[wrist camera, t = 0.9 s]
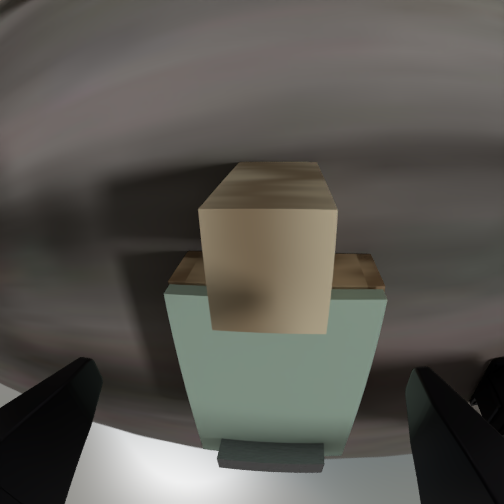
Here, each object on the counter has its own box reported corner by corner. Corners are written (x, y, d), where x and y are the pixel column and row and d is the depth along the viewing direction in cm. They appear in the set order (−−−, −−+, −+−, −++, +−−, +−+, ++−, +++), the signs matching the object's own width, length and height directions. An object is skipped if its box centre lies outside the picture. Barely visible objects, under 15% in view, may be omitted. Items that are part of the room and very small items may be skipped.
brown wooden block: (316, 162, 18) (337, 209, 10) (314, 241, 20) (326, 334, 12) (239, 162, 19) (198, 209, 11) (243, 240, 21) (212, 330, 13)
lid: (382, 289, 16) (396, 323, 14) (340, 445, 23) (342, 475, 20) (169, 284, 18) (149, 315, 15) (205, 439, 24) (198, 467, 22)
